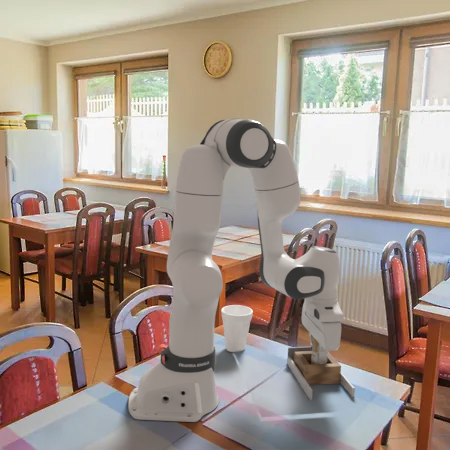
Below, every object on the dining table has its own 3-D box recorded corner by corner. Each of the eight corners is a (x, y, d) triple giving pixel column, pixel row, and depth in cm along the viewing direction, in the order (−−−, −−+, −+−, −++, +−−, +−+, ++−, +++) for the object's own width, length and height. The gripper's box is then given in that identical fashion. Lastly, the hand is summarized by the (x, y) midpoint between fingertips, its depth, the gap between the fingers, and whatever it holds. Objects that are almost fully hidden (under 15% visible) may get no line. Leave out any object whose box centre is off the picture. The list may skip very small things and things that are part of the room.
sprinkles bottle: (308, 367, 138) (311, 323, 135) (324, 368, 138) (327, 323, 136) (312, 375, 133) (315, 329, 131) (328, 375, 133) (331, 329, 131)
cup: (255, 355, 149) (256, 315, 147) (223, 357, 147) (224, 316, 145) (246, 342, 159) (248, 304, 156) (217, 344, 156) (218, 305, 154)
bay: (309, 402, 123) (311, 380, 122) (287, 366, 142) (288, 347, 141) (354, 399, 125) (355, 378, 124) (325, 364, 144) (327, 345, 143)
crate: (304, 385, 130) (305, 367, 129) (293, 367, 140) (294, 351, 139) (339, 383, 131) (341, 366, 131) (326, 366, 141) (327, 350, 140)
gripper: (297, 293, 142) (295, 337, 144) (323, 318, 122) (319, 369, 124) (318, 292, 143) (315, 336, 145) (346, 317, 123) (342, 368, 125)
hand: (317, 352), depth 134 cm, fingers closed on sprinkles bottle, 4 cm apart
